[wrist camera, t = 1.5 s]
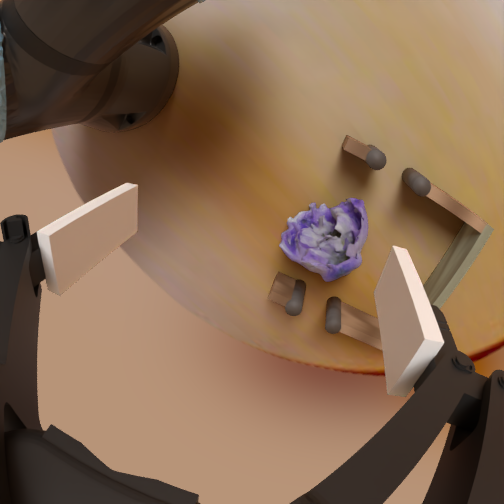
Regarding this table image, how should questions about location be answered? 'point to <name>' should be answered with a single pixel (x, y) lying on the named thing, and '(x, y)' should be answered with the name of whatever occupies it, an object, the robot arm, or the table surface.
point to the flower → (327, 238)
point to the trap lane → (438, 283)
